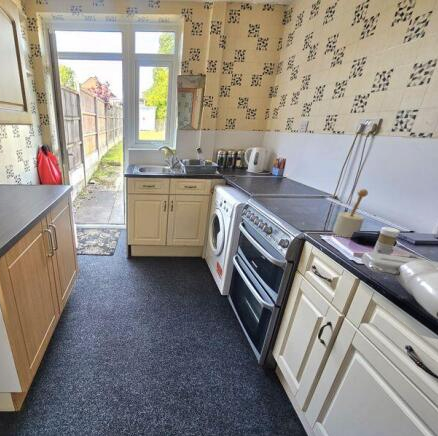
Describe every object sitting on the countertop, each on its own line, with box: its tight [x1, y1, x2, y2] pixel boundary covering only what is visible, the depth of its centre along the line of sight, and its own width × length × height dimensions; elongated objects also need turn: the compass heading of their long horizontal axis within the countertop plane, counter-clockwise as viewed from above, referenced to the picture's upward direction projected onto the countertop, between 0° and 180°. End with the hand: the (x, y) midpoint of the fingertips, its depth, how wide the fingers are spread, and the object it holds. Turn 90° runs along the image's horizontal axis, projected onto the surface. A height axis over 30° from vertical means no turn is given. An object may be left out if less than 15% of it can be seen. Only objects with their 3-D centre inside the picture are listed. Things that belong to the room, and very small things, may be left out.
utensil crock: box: [332, 188, 369, 239], centre depth 106 cm, size 9×9×22 cm
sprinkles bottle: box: [373, 226, 401, 255], centre depth 85 cm, size 5×5×14 cm
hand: (393, 254), depth 79 cm, fingers open, 8 cm apart
